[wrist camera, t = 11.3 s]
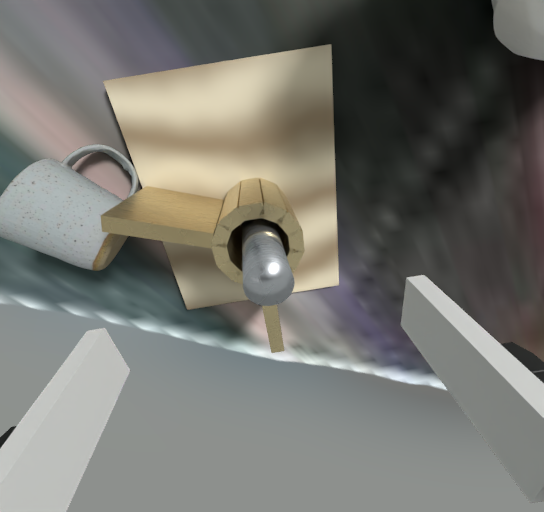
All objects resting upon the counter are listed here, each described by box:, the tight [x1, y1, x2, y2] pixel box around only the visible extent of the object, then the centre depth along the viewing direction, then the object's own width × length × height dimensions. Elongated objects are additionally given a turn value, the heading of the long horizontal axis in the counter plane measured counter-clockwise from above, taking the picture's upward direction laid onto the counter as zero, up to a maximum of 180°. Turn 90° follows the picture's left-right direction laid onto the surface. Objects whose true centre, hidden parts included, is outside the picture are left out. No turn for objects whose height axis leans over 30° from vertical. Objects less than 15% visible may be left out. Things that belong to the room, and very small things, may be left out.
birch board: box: [103, 44, 339, 310], centre depth 28 cm, size 24×19×1 cm
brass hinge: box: [101, 177, 305, 353], centre depth 25 cm, size 15×14×9 cm
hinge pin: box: [242, 218, 295, 306], centre depth 22 cm, size 3×3×14 cm
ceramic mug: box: [0, 144, 139, 271], centre depth 24 cm, size 11×8×8 cm
